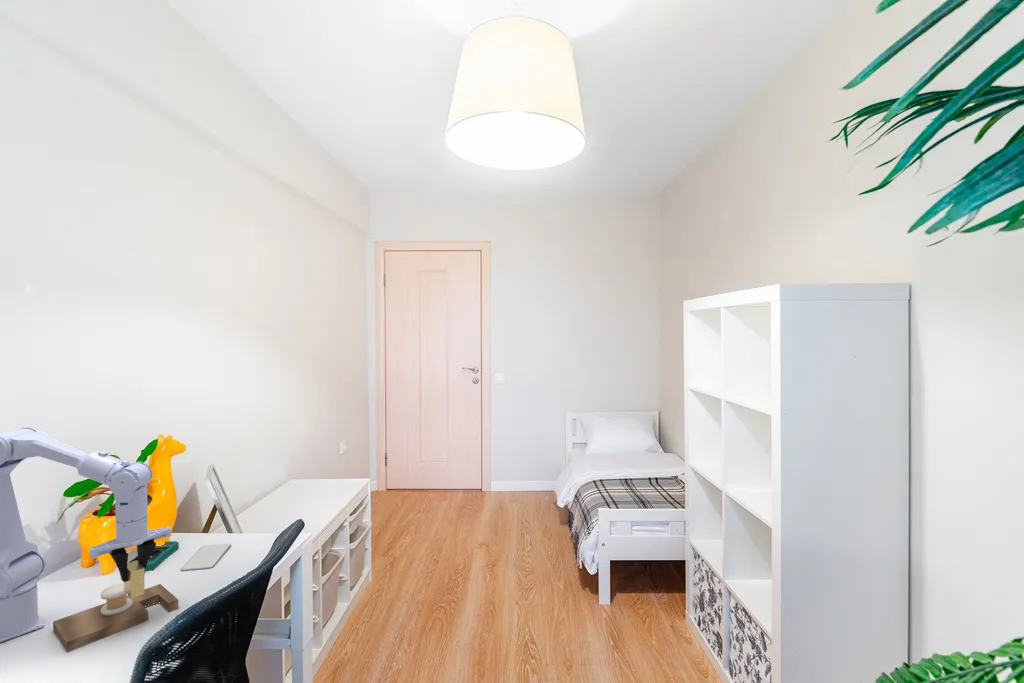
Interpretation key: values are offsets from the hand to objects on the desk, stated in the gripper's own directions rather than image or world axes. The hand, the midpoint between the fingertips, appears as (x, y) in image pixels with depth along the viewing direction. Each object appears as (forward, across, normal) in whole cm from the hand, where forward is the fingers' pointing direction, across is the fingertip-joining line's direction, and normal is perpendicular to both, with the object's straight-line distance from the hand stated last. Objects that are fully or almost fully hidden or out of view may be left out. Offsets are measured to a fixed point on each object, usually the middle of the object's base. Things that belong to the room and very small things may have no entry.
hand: (132, 577), depth 111 cm
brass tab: (+3, 0, -1) cm, 3 cm away
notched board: (+10, -2, +4) cm, 11 cm away
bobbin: (+8, -2, +5) cm, 9 cm away
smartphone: (+10, +23, +21) cm, 33 cm away
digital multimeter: (+11, +13, +32) cm, 36 cm away
